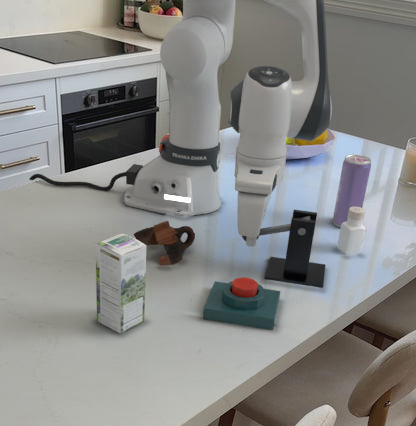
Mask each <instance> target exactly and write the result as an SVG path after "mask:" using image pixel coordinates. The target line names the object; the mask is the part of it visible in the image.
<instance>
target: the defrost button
mask: <svg viewBox="0 0 416 426" xmlns="http://www.w3.org/2000/svg"><path fill="white" fill-rule="evenodd" d="M232 281H233V282H232V290H231V291H232V294H234V295H236V296H238V297H244V298H248V297H254V296H256V294H257V288H258V284H259V283H258V281H256V280H255V279H253V278H250V277H243V276H242V277H237V278H234V279H233V280H232Z"/></svg>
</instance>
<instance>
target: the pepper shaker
mask: <svg viewBox="0 0 416 426" xmlns="http://www.w3.org/2000/svg"><path fill="white" fill-rule="evenodd" d="M365 214H366V210H365V208H363V207H362V208H361V207H350V208H349V212H348V219H347V221H346V222H343V223H342V224H341V228H340V229H339V235H338V240H337V244H336V249H338V250H339V251H341V252H342V253H343V254H344V255H357V254H361V253H362V251H363V245H364V241H365V237H366V232H367V227H366V226H365V225H364V224H363V222H364V219H365V218H364V217H365Z"/></svg>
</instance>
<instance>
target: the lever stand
mask: <svg viewBox="0 0 416 426" xmlns="http://www.w3.org/2000/svg"><path fill="white" fill-rule="evenodd" d="M306 216H310V219H311V220H305V219H298V218H300V217H306ZM317 217H318V212H316V211H308V210H302V209H301V210H300V209H293V211H292V217H291V220H290V224H291V226H290V231H288V233H289V234H288V238H287V239H288V240H287V247H286V252H285V253H286V254H285V258H283V257H276V256H269V260H268V265H267V267H266V271H265V275H264V280H268V281H276V282H282V283H288V284H296V285H301V286H302V285H303V286H309V287H314V288H321V289H323V288H324V282H325V272H326V264H325V263H318V262H313V261H312V262H311V261H310V259H311V253H312V248H313V242H314V236H315V230H316V223H317Z"/></svg>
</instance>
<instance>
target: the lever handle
mask: <svg viewBox="0 0 416 426" xmlns="http://www.w3.org/2000/svg"><path fill="white" fill-rule="evenodd" d="M298 219H305V220H311V219H310V216H306V217H300V218H298ZM290 226H291V223H286V224H281V225H280V224H279V225H273V226H268V227H267V226H266V227H261V229H260V232H259V235H258V237H257V240H258V239H259V238H260V236H268V235H272V234H280V233H285V232H290ZM241 238H242V240H243V241H244V242H246V236H241Z"/></svg>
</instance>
